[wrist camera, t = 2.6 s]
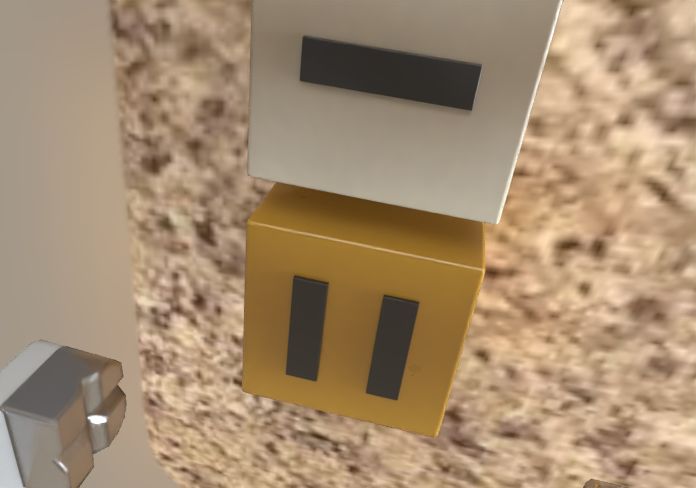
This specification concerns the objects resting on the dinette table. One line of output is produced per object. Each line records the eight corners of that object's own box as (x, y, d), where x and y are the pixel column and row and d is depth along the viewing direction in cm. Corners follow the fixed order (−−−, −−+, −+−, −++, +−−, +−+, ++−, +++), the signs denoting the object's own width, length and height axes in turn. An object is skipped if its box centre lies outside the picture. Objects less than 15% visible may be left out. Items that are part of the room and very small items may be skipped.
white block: (493, 139, 14) (498, 230, 10) (308, 106, 14) (243, 179, 10) (550, -79, 11) (585, -74, 8) (326, -109, 12) (250, -119, 8)
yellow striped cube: (447, 318, 17) (436, 444, 13) (294, 285, 17) (239, 396, 13) (485, 174, 14) (486, 272, 10) (306, 140, 15) (243, 223, 11)
